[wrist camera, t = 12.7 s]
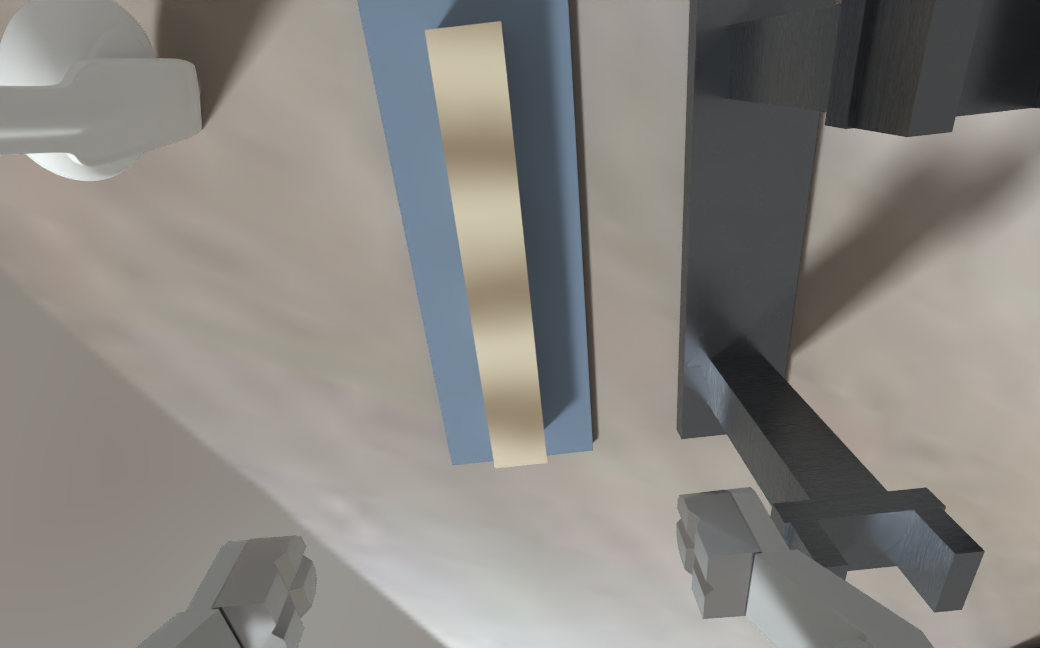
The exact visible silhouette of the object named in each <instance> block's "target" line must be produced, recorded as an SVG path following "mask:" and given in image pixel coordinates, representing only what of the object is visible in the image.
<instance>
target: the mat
mask: <svg viewBox="0 0 1040 648" xmlns="http://www.w3.org/2000/svg"><path fill="white" fill-rule="evenodd" d="M357 1H358V6H359V11H360V16H361V20H362V25H363V30H364V35H365V40H366V45H367V50H368V55H369V60H370V64H371V69H372V74H373V79H374V84H375V89H376V94H377V99H378V104H379V108H380V113H381V118H382V123H383V128H384V133H385V138H386V143H387V148H388V152H389V157H390V162H391V167H392V172H393V177H394V182H395V187H396V192H397V196H398V201H399V206H400V211H401V216H402V221H403V226H404V231H405V236H406V240H407V245H408V250H409V255H410V260H411V265H412V270H413V275H414V280H415V284H416V289H417V294H418V299H419V304H420V309H421V314H422V319H423V324H424V328H425V333H426V338H427V343H428V348H429V353H430V358H431V363H432V368H433V372H434V377H435V382H436V387H437V392H438V397H439V402H440V407H441V412H442V416H443V421H444V426H445V431H446V436H447V441H448V446H449V451H450V456H451V460H452V465H460V464H470V463H479V462H489V461H494V460H493V453H492V447H491V441H490V435H489V428H488V422H487V416H486V410H485V403H484V397H483V391H482V385H481V379H480V372H479V366H478V360H477V354H476V347H475V341H474V335H473V329H472V322H471V316H470V310H469V304H468V297H467V291H466V285H465V279H464V273H463V266H462V260H461V254H460V248H459V241H458V235H457V229H456V223H455V216H454V210H453V204H452V198H451V191H450V185H449V179H448V173H447V167H446V160H445V154H444V148H443V142H442V135H441V129H440V123H439V117H438V110H437V104H436V98H435V92H434V85H433V79H432V73H431V67H430V61H429V54H428V48H427V42H426V36H425V30H429V29H438V28H446V27H455V26H463V25H472V24H480V23H489V22H497V21H501V25H502V34H503V44H504V53H505V63H506V72H507V82H508V92H509V101H510V111H511V120H512V130H513V139H514V149H515V159H516V168H517V178H518V187H519V197H520V207H521V216H522V226H523V235H524V245H525V254H526V264H527V274H528V283H529V293H530V302H531V312H532V322H533V331H534V341H535V350H536V360H537V369H538V379H539V389H540V398H541V408H542V417H543V427H544V436H545V446H546V455H555V454H564V453H574V452H583V451H593V442H592V424H591V406H590V388H589V370H588V352H587V334H586V316H585V298H584V280H583V262H582V244H581V226H580V208H579V190H578V172H577V154H576V136H575V117H574V99H573V81H572V63H571V45H570V27H569V9H568V0H357Z"/></svg>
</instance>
